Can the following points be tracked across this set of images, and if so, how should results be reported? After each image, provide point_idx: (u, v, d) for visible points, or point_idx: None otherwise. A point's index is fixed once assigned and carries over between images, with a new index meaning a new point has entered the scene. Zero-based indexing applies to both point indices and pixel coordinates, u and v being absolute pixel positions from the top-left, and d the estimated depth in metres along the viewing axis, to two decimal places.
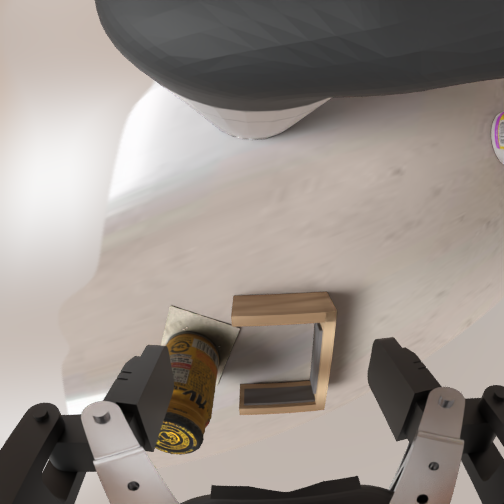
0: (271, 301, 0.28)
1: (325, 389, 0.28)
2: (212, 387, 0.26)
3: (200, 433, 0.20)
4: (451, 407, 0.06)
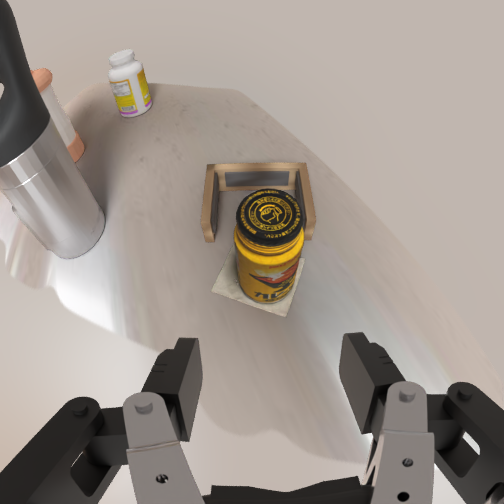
0: None
1: (281, 163, 0.37)
2: None
3: None
4: (410, 401, 0.07)
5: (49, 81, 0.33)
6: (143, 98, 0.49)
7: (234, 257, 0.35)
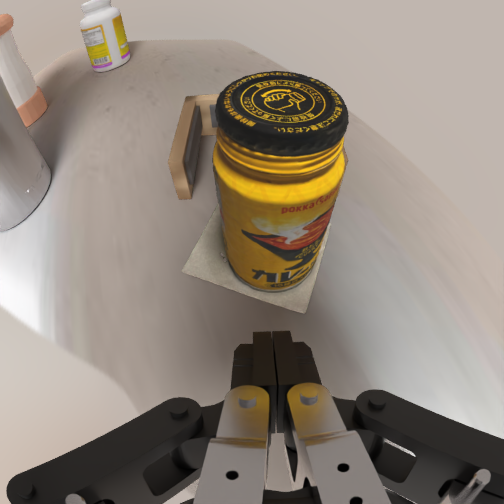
0: None
1: None
2: None
3: None
4: (307, 404, 0.07)
5: (8, 25, 0.20)
6: (118, 48, 0.36)
7: (220, 220, 0.22)
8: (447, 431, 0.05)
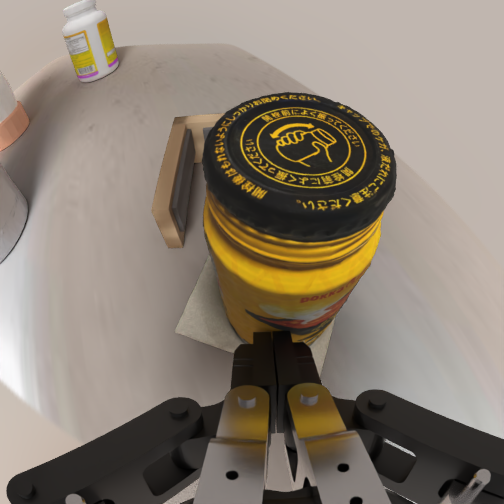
0: None
1: None
2: None
3: None
4: (307, 404, 0.07)
5: None
6: (105, 56, 0.32)
7: None
8: (447, 431, 0.05)
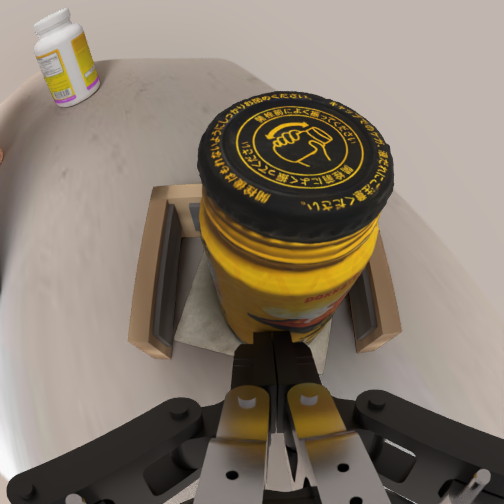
0: None
1: None
2: None
3: None
4: (307, 404, 0.07)
5: None
6: (82, 77, 0.28)
7: (210, 269, 0.19)
8: (447, 431, 0.05)
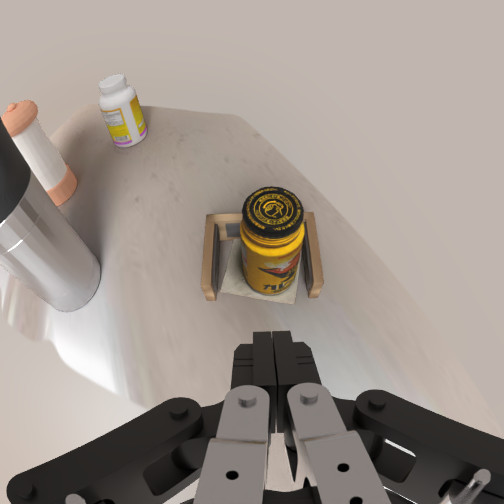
0: None
1: None
2: None
3: None
4: (307, 404, 0.07)
5: (34, 115, 0.31)
6: (137, 127, 0.47)
7: (236, 257, 0.37)
8: (447, 431, 0.05)
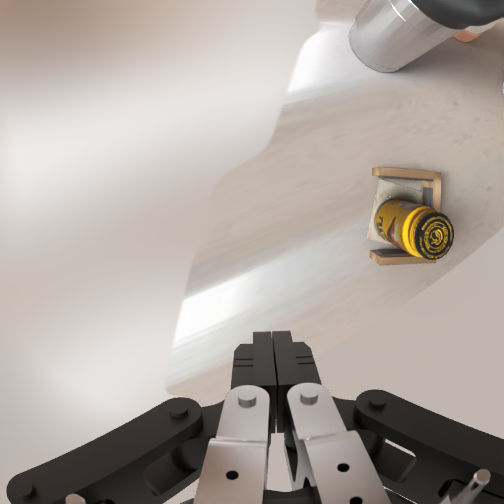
0: None
1: None
2: None
3: None
4: (307, 404, 0.07)
5: None
6: None
7: (406, 192, 0.39)
8: (447, 431, 0.05)
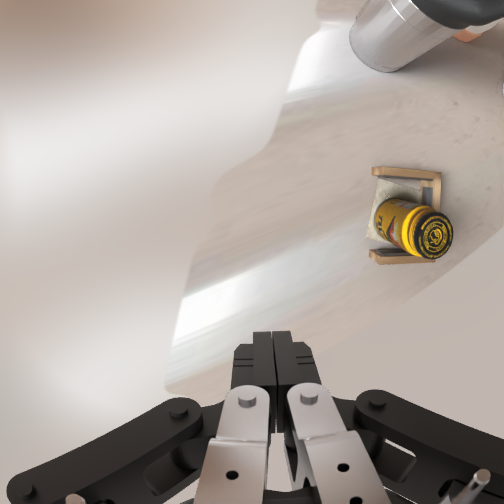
0: None
1: None
2: None
3: (451, 227, 0.29)
4: (307, 404, 0.07)
5: None
6: None
7: (406, 192, 0.39)
8: (447, 431, 0.05)
